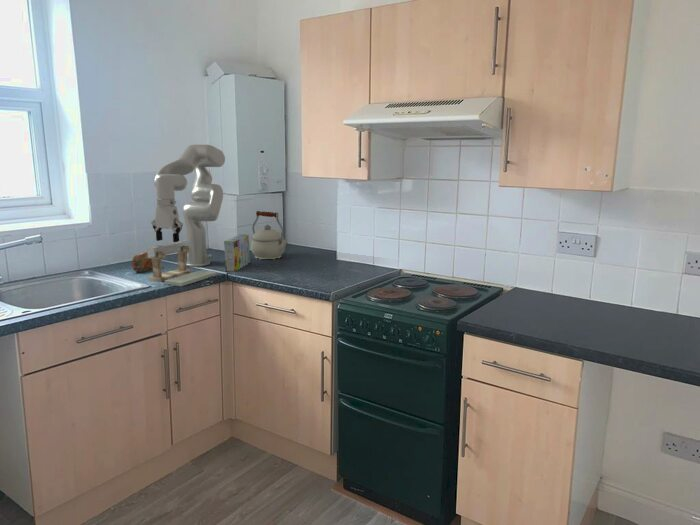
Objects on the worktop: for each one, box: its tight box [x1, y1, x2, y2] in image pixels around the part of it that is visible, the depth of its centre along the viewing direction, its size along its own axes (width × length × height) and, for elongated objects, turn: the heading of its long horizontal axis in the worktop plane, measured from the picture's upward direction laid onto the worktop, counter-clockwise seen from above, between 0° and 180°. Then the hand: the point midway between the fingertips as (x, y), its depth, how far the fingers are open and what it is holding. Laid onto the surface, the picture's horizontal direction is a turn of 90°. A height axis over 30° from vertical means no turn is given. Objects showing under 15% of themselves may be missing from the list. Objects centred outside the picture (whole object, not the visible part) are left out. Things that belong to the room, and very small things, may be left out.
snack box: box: [223, 233, 251, 272], centre depth 269 cm, size 21×6×15 cm, turn 171°
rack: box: [147, 246, 192, 283], centre depth 247 cm, size 20×7×13 cm, turn 156°
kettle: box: [250, 210, 289, 260], centre depth 292 cm, size 25×18×25 cm
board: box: [164, 269, 218, 287], centre depth 243 cm, size 24×9×2 cm, turn 156°
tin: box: [131, 251, 153, 273], centre depth 260 cm, size 15×3×8 cm, turn 168°
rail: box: [146, 240, 189, 257], centre depth 246 cm, size 22×4×4 cm, turn 156°
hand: (167, 241), depth 245 cm, fingers open, 9 cm apart
